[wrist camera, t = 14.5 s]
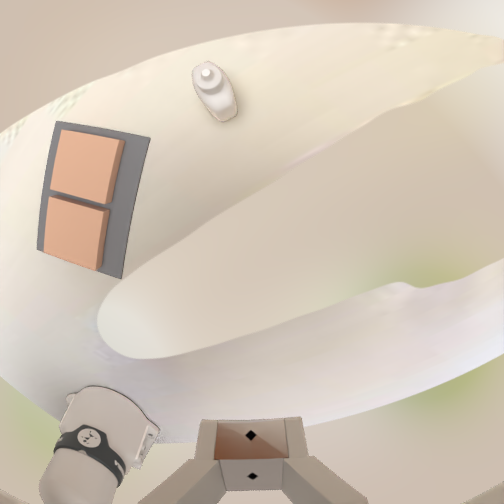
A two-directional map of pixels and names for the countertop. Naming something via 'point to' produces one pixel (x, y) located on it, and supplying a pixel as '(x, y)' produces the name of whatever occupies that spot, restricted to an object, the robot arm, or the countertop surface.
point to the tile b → (87, 165)
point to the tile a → (75, 231)
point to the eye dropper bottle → (214, 90)
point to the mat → (121, 197)
